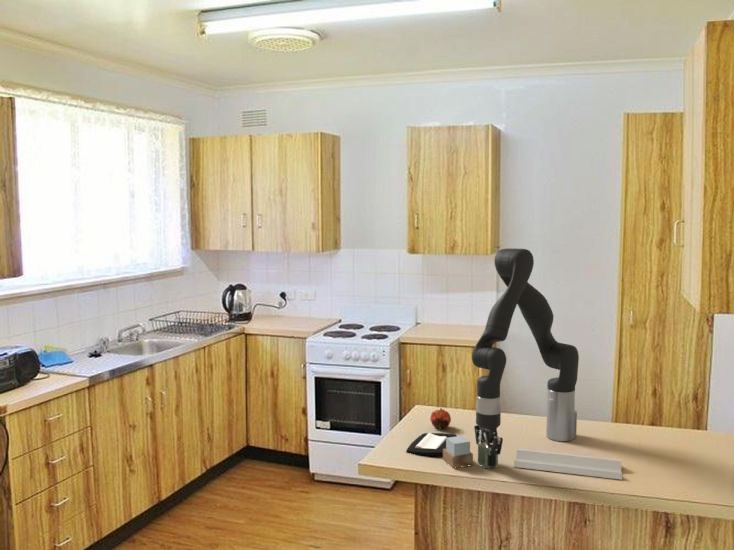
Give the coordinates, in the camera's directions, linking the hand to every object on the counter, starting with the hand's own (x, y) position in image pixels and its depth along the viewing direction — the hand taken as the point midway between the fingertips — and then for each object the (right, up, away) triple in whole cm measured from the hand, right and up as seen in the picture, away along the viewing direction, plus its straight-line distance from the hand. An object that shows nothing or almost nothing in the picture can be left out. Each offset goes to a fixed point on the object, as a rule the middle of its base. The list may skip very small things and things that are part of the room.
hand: (487, 462), depth 204 cm
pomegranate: (-11, +2, +34) cm, 36 cm away
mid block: (-9, +3, +2) cm, 10 cm away
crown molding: (+24, -2, -1) cm, 25 cm away
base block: (-9, -1, +2) cm, 9 cm away
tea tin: (0, -1, 0) cm, 1 cm away
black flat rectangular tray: (-16, 0, +17) cm, 23 cm away
